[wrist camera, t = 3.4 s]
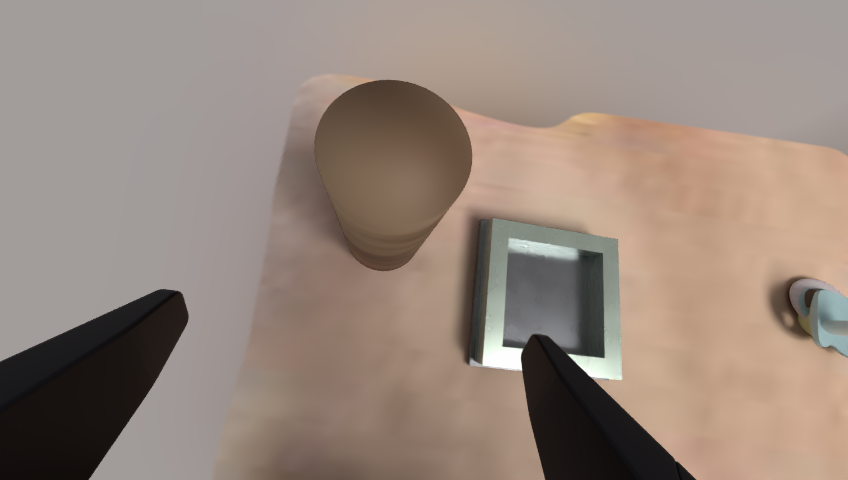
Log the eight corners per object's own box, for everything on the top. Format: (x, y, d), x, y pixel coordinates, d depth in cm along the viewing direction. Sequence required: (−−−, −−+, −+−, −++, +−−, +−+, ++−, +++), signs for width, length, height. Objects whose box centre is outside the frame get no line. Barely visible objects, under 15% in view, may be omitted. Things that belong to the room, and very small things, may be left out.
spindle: (382, 286, 21) (394, 257, 9) (331, 233, 21) (278, 138, 9) (433, 237, 22) (501, 156, 10) (385, 187, 22) (398, 54, 10)
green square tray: (603, 378, 22) (626, 385, 20) (467, 364, 20) (477, 370, 18) (601, 241, 24) (621, 235, 22) (479, 221, 23) (489, 213, 21)
